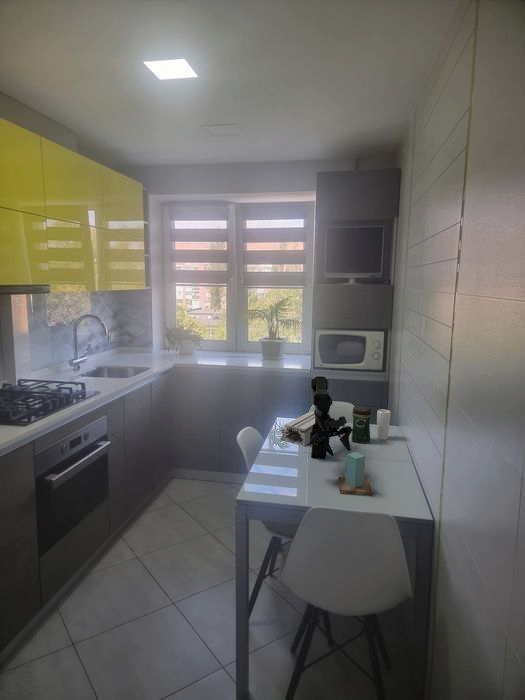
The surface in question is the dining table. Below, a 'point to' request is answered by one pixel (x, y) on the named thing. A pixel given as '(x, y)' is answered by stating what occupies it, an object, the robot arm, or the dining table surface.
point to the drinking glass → (383, 423)
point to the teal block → (355, 469)
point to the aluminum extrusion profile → (299, 429)
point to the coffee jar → (361, 424)
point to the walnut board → (349, 489)
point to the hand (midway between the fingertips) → (341, 453)
